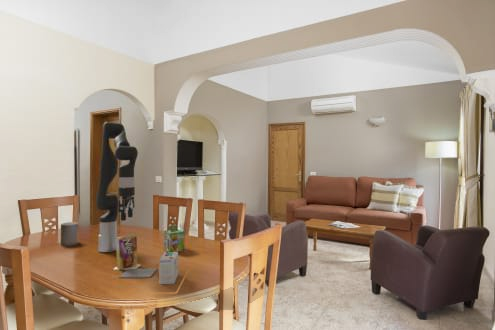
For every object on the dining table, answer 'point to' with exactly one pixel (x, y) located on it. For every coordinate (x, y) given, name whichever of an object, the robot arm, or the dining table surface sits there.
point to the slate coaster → (138, 273)
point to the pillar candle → (69, 233)
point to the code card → (128, 268)
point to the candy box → (126, 251)
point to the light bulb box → (168, 268)
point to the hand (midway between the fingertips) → (126, 218)
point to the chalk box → (174, 240)
